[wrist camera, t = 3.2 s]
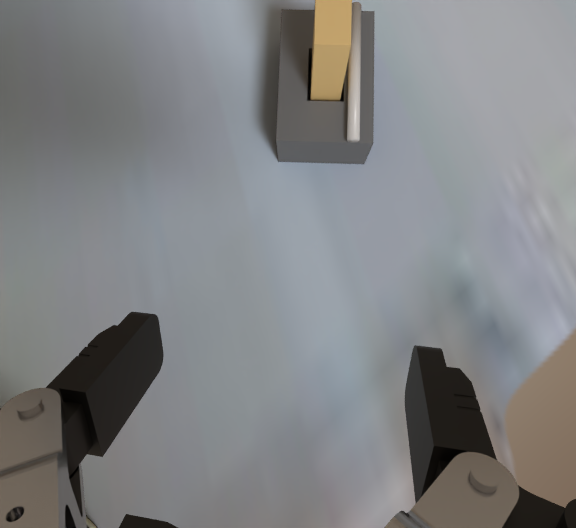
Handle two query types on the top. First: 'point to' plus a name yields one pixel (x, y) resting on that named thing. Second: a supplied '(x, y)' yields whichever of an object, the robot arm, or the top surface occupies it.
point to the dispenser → (324, 114)
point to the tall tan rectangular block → (330, 48)
